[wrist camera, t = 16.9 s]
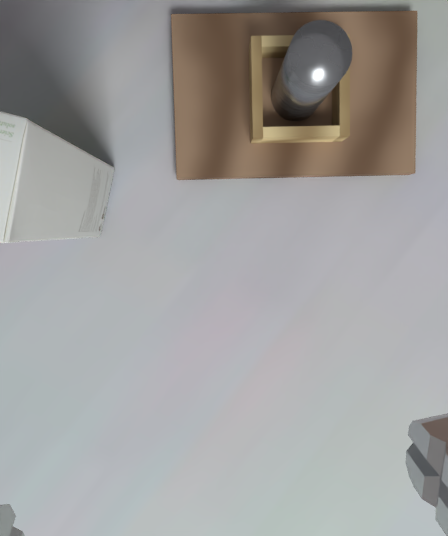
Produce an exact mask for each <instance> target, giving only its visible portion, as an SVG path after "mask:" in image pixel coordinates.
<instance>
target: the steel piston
mask: <svg viewBox="0 0 448 536" xmlns="http://www.w3.org/2000/svg"><path fill="white" fill-rule="evenodd" d="M351 61H352V45H351V42H350V39H349V37H348V35H347V34H346V32H345V31H344V30H343V29H342V28H341V27H340V26H338V25H337V24H335V23H333V22H330V21H327V20H315V21H311V22H309V23H307V24H305V25H303V26H302V27H301V28H300V29H299V30H298V31H297V32H296V33H295V35H294V36H293V38H292V40H291V43H290V45H289V48H288V50H287V53H286V55H285V58H284V60H283V63H282V65H281V68H280V70H279V73H278V76H277V78H276V81H275V83H274V86H273V88H272V92H271V101H272V105H273V107H274V109H275V111H276V112H277V113H278V115H280V116H281V117H282V118H284V119H286V120H289V121H302V120H305V119H307V118H308V117H310V116H311V115H312V114H313V113H314V112H315V110H316V109H317V108H318V107H319V105H320V104H321V103H322V102H323V101H324V99H325V98H326V97H327V96H328V94H329V93H330V92H331V91H332V90H333V88H334V87H335V86H336V85H337V83H338V82H339V81H340V80H341V79H342V77H343V76H344V75H345V74H346V72H347V71H348V69H349V67H350V64H351Z"/></svg>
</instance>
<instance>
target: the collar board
mask: <svg viewBox="0 0 448 536" xmlns="http://www.w3.org/2000/svg"><path fill="white" fill-rule="evenodd" d="M315 20H327V21H330V22H333V23H335V24H337V25H338V26H340V27H341V28H342V29H343V30H344V31H345V32H346V34H347V35H348V37H349V39H350V42H351V45H352V61H351V64H350V67H349V69H348V71H347V72H346V74H345V75H344V76H343V77H342V79H341V80H340V81H339V82H338V83H337V85H336V86H335V87H334V88H333V90H332V91H331V92H330V93H329V94H328V96H327V97H326V98H325V99H324V101H323V102H322V103H321V104H320V105H319V107H318V108H317V109H316V110H315V112H314V113H313V114H312V115H311V116H310V117H308V118H307V119H305V120H302V121H289V120H286V119H284V118H282V117H281V116H280V115H278V113H277V112H276V111H275V109H274V107H273V105H272V101H271V92H272V88H273V86H274V83H275V81H276V78H277V76H278V73H279V70H280V68H281V65H282V63H283V60H284V58H285V55H286V53H287V50H288V48H289V45H290V43H291V40H292V38H293V36H294V35H295V33H296V32H297V31H298V30H299V29H300V28H301V27H302V26H303V25H305V24H307V23H309V22H311V21H315ZM171 26H172V55H173V85H174V114H175V143H176V172H177V179H178V180H195V179H239V178H284V177H329V176H374V175H410V174H413V173H415V149H416V74H417V11H363V12H289V13H215V14H171Z"/></svg>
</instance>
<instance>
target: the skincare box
mask: <svg viewBox="0 0 448 536" xmlns="http://www.w3.org/2000/svg"><path fill="white" fill-rule="evenodd" d="M114 170H115V168H114V167H113V166H111V165H109V164H107V163H105V162H103V161H102V160H100V159H98V158H96V157H94V156H93V155H91V154H89V153H87V152H86V151H84V150H82V149H80V148H78V147H77V146H75V145H73V144H71V143H69V142H68V141H66V140H64V139H62V138H61V137H59V136H57V135H55V134H53V133H52V132H50V131H48V130H46V129H44V128H42V127H41V126H39V125H37V124H36V123H34V122H32V121H30V120H29V119H27V118H25V117H21V116H17V115H13V114H10V113H6V112H2V111H0V243H12V242H27V241H43V240H58V239H75V238H98V237H100V236H101V231H102V227H103V222H104V218H105V213H106V209H107V204H108V199H109V194H110V190H111V185H112V180H113V175H114Z"/></svg>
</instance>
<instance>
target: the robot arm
mask: <svg viewBox="0 0 448 536" xmlns="http://www.w3.org/2000/svg"><path fill="white" fill-rule="evenodd" d="M408 436H409V437H410V438H411V440H412V441H413V444H412V445H411V446H410V447H409V449H408V450H407V451H406V466H407V470H408V474H409V477H410V479H411V481H412V483H413V486H414V488H415V489H416V491H417V492H418V494H419V495H420V497H421V498H422V499H423V500H425V501H426V502H428V503H430V504H431V505H433V506H434V507H436V521H437V522H438V524H439V525H440V527H441V528H442V530H443V531H444V533H445V534H446V536H448V413H447V414H443V415H438V416H433V417H429V418H424V419H419V420H415V421H412V423H411V424H410V426H409V432H408ZM15 517H16V515H15V513H14V511H13V509H12V507H11V505H10V504H4V505H0V536H24V533H23V531H21V530H19V529H17V528H15V527H13V523H14V520H15Z"/></svg>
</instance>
